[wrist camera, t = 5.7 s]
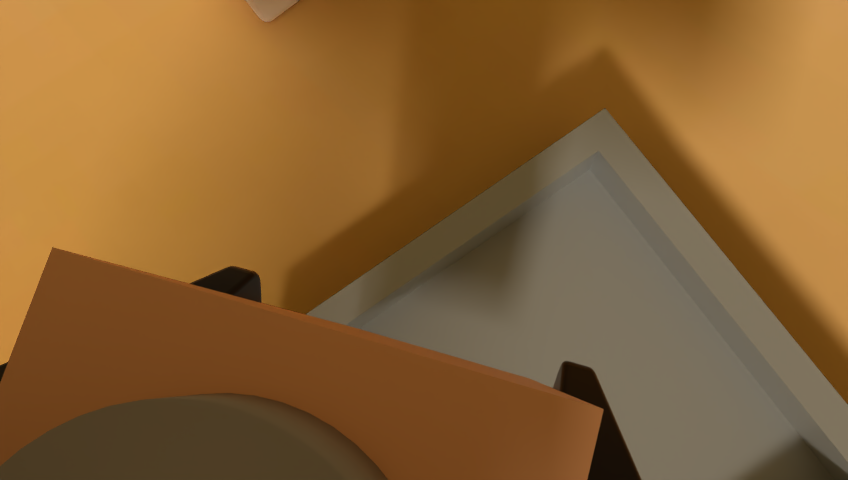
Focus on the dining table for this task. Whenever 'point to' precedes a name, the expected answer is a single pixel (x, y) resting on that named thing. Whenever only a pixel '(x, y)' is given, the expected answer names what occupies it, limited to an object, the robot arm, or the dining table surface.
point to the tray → (613, 314)
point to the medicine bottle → (270, 8)
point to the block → (257, 394)
